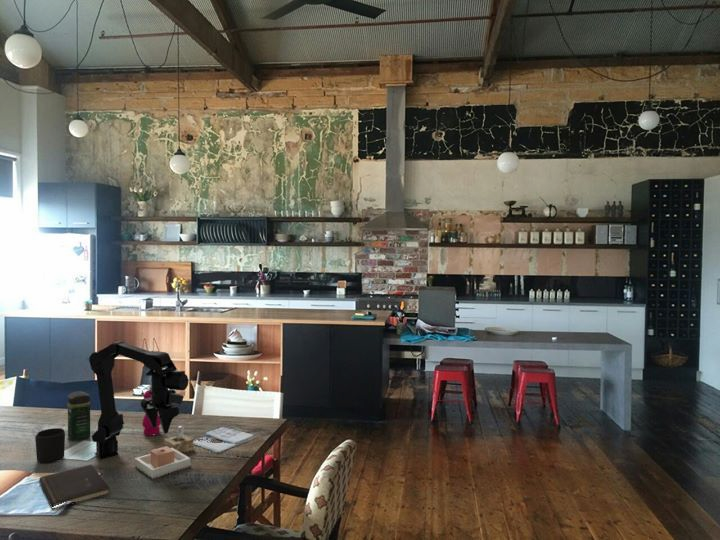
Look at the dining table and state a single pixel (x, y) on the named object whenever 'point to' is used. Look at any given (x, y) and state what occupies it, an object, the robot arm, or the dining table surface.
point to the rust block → (162, 456)
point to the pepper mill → (146, 423)
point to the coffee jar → (78, 415)
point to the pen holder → (50, 445)
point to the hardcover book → (73, 485)
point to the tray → (151, 471)
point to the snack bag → (224, 439)
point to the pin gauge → (180, 433)
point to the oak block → (180, 443)
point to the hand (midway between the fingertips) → (160, 430)
